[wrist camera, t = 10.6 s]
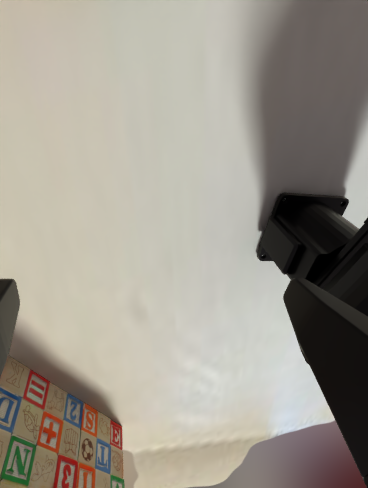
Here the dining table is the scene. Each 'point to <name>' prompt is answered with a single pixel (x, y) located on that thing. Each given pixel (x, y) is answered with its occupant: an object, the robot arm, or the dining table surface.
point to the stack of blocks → (54, 436)
